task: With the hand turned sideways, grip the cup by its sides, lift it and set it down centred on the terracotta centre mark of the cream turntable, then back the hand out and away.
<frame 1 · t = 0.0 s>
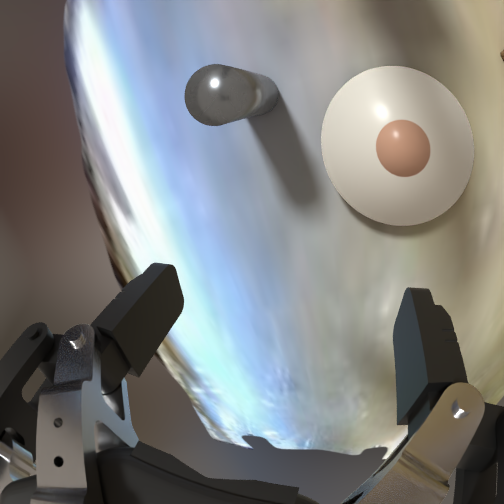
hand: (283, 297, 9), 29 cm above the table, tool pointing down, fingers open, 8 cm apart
turntable: (402, 147, 28), point 2 cm above the table, hinge at 0.0°
cup: (257, 94, 32), on the table
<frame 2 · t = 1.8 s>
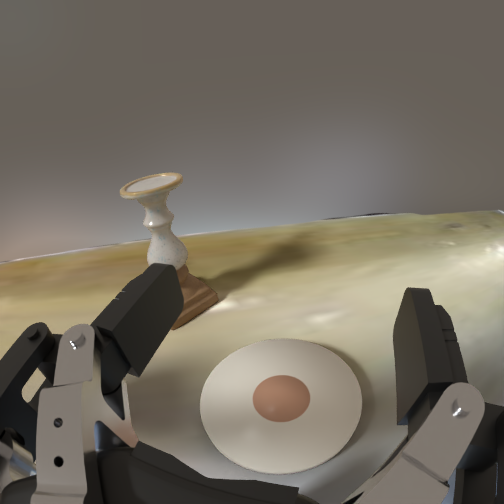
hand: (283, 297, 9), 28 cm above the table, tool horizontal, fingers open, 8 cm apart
candle holder: (180, 303, 53), on the table
turntable: (281, 400, 31), point 2 cm above the table, hinge at 0.0°
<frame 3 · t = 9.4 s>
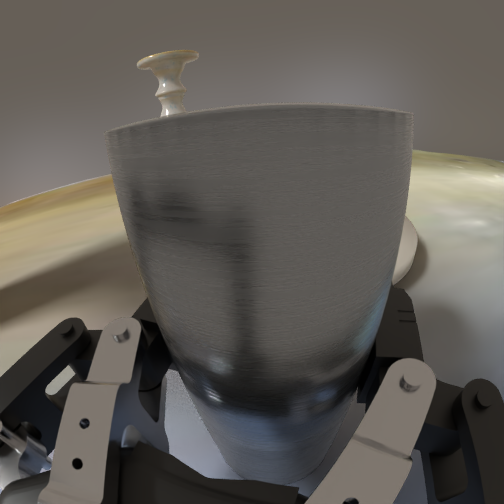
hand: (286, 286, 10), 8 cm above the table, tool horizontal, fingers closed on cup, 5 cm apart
candle holder: (184, 190, 48), on the table
turntable: (312, 226, 26), point 2 cm above the table, hinge at 0.0°
cup: (274, 438, 12), on the table, touching gripper
when the fingers open (12 cm above the table, at t = 15.6 s): cup drops 1 cm, resting on turntable.
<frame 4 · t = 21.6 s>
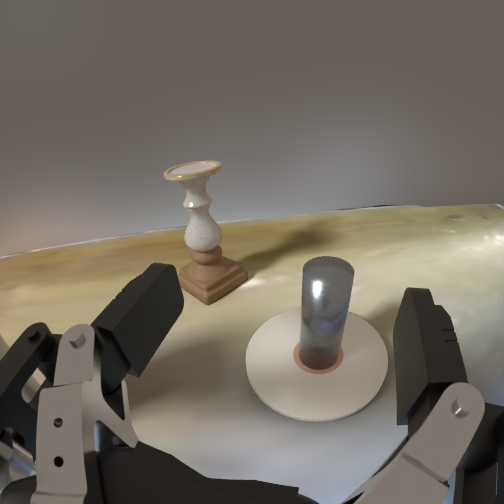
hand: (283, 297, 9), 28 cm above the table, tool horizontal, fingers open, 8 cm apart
candle holder: (211, 282, 58), on the table
turntable: (318, 356, 36), point 2 cm above the table, hinge at 0.0°, touching cup
cup: (318, 354, 36), point 3 cm above the table, touching turntable
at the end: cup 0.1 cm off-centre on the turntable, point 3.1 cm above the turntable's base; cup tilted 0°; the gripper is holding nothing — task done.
